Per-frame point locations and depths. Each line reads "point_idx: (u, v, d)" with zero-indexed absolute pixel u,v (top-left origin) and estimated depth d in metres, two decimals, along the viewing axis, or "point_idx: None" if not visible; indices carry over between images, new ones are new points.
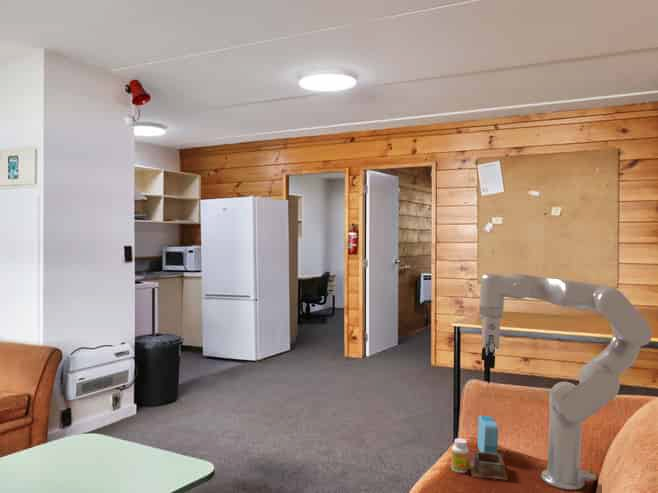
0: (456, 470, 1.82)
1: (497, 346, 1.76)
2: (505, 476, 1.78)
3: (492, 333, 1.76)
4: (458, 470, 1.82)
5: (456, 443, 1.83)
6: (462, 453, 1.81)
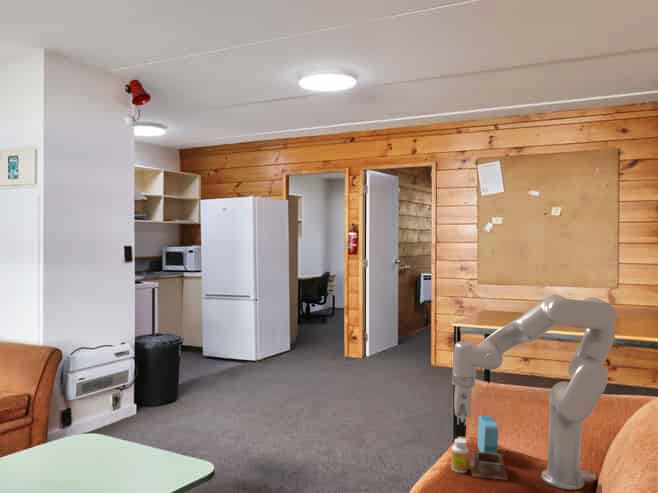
0: (456, 470, 1.82)
1: (468, 415, 1.78)
2: (505, 476, 1.78)
3: (463, 402, 1.78)
4: (458, 470, 1.82)
5: (456, 443, 1.83)
6: (462, 453, 1.81)
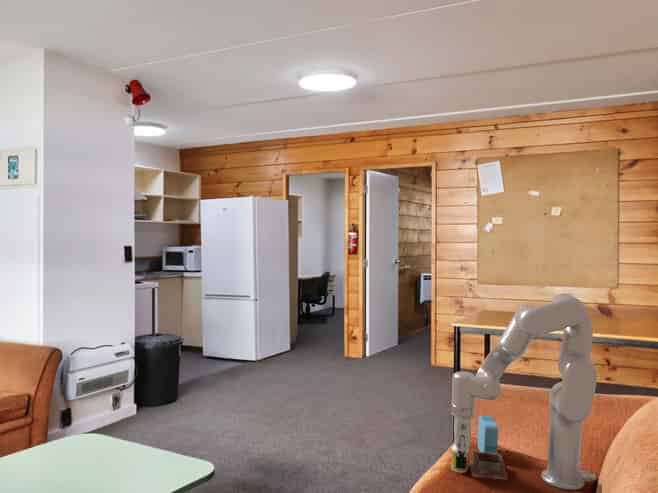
0: (456, 470, 1.82)
1: (468, 446, 1.78)
2: (505, 476, 1.78)
3: (463, 433, 1.78)
4: (458, 470, 1.82)
5: None
6: None
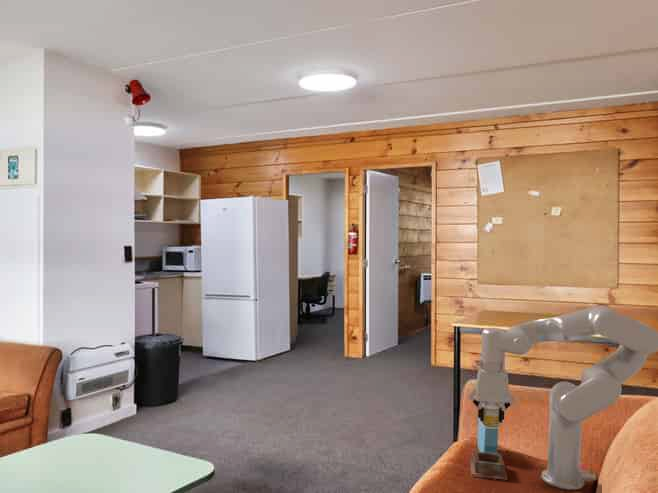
0: None
1: (476, 397, 1.81)
2: (505, 476, 1.78)
3: (476, 383, 1.83)
4: (482, 422, 1.84)
5: None
6: (483, 406, 1.83)
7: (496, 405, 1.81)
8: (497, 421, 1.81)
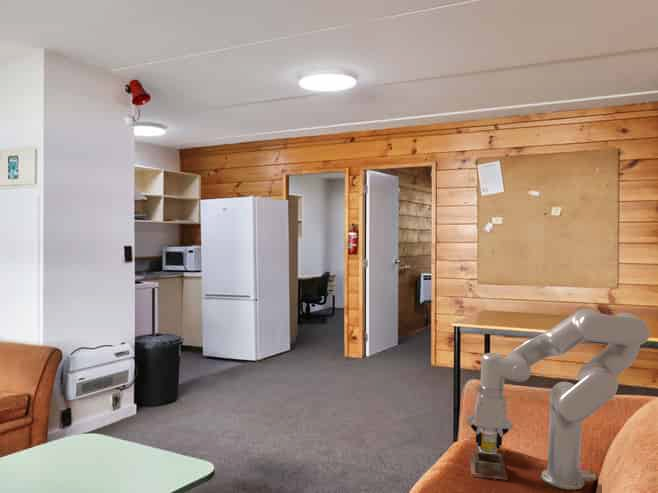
0: None
1: None
2: (505, 476, 1.78)
3: None
4: None
5: None
6: (481, 431, 1.83)
7: (494, 431, 1.81)
8: (495, 446, 1.81)
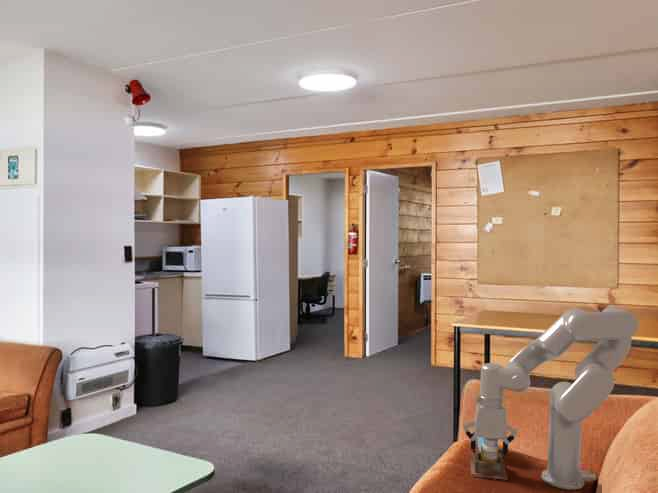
0: None
1: (474, 432, 1.82)
2: (505, 476, 1.78)
3: None
4: None
5: None
6: (481, 448, 1.83)
7: (494, 447, 1.81)
8: None
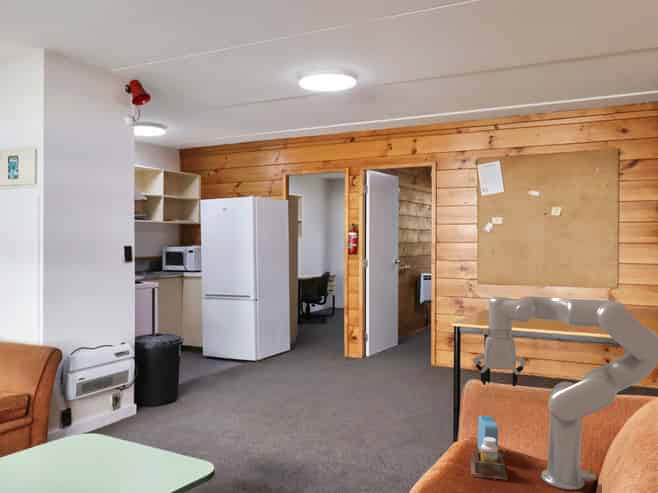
0: None
1: (484, 364, 1.85)
2: (505, 476, 1.78)
3: (484, 351, 1.87)
4: None
5: None
6: (481, 448, 1.83)
7: (494, 448, 1.81)
8: None
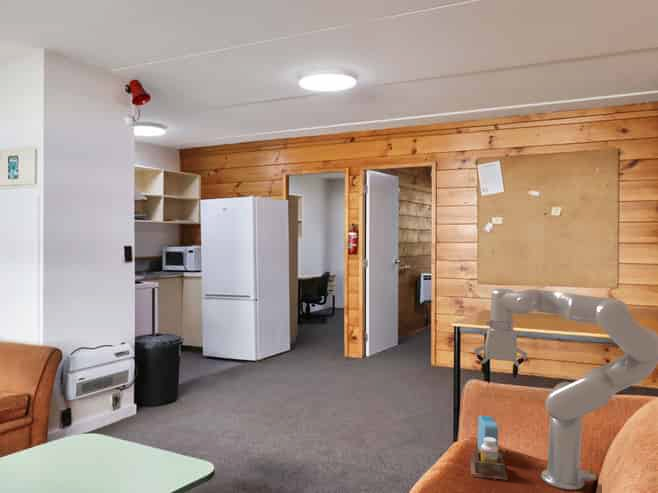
0: None
1: (485, 355, 1.87)
2: (505, 476, 1.78)
3: (485, 342, 1.89)
4: None
5: None
6: (481, 448, 1.83)
7: (494, 448, 1.81)
8: None
